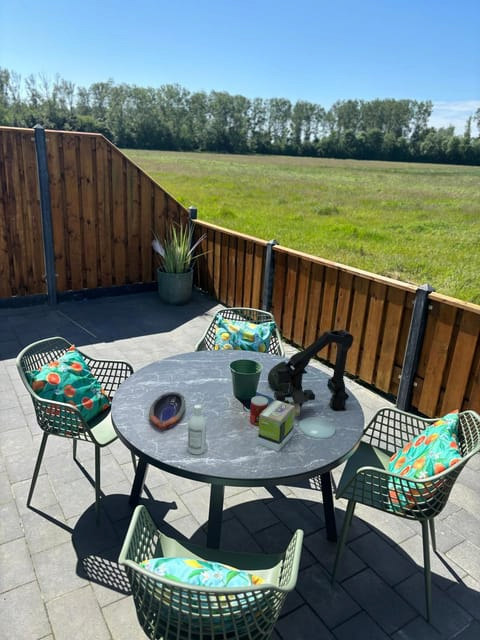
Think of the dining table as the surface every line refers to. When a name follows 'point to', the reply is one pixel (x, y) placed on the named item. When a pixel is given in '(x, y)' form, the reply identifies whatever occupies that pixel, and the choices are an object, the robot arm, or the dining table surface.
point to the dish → (167, 410)
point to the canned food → (257, 408)
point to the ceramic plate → (317, 428)
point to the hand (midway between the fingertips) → (292, 411)
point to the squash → (271, 380)
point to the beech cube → (296, 408)
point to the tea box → (276, 425)
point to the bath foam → (197, 432)
